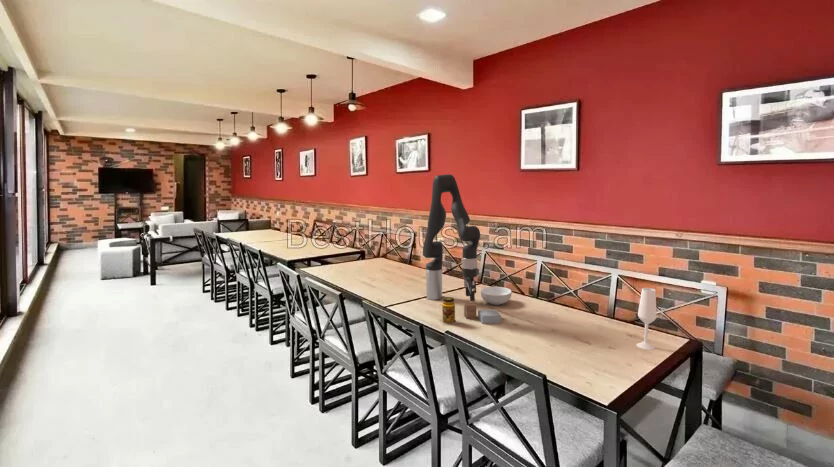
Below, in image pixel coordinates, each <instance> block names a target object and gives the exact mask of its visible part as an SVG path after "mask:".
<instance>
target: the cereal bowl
mask: <svg viewBox="0 0 834 467" xmlns="http://www.w3.org/2000/svg"><path fill="white" fill-rule="evenodd" d="M480 296H481V298H482V300H483V301H484V302H486V303H489V304H490V305H493V304H494V305H495V306H499V305H500V304H501V305H503V304H505V303H507V302H509V301H510V300H511V297H512V290H511V289H510V288H508V287H505V286H504V287H503V286H486V287H482V289H481V290H480ZM501 305H500V306H501Z"/></svg>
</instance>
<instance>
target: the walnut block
mask: <svg viewBox="0 0 834 467" xmlns="http://www.w3.org/2000/svg"><path fill="white" fill-rule="evenodd" d="M463 317H464V318H465V319H466V320H471V319H472V320H473V319H477V304H476V303H475V301H467V302H464V303H463Z"/></svg>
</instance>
